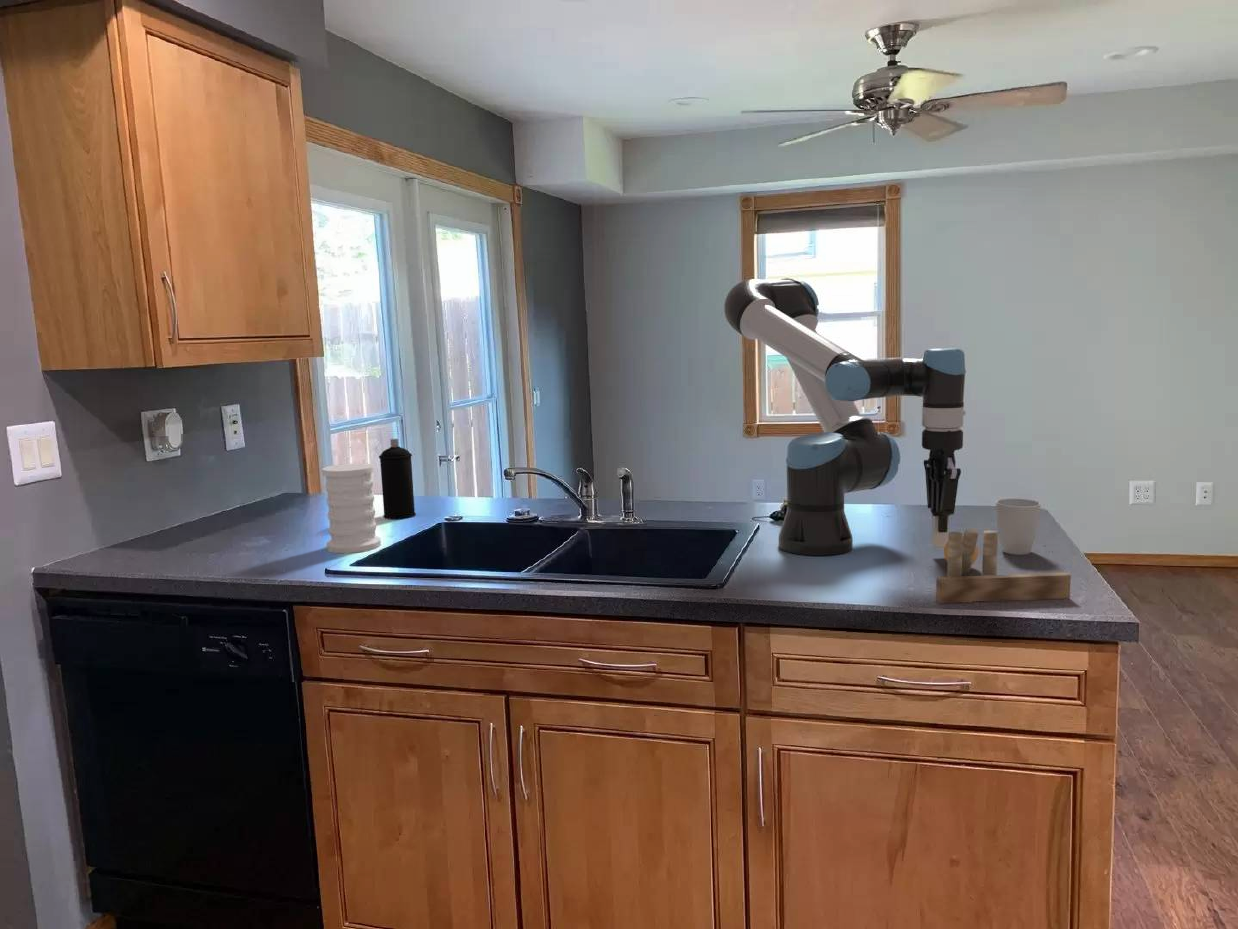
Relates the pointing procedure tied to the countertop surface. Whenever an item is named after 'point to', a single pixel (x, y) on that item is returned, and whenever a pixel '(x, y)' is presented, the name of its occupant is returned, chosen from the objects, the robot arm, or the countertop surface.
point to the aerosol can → (397, 482)
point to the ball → (947, 553)
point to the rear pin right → (954, 554)
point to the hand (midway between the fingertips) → (939, 547)
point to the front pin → (968, 549)
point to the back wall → (1003, 587)
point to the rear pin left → (990, 553)
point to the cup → (1017, 524)
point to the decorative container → (350, 508)
